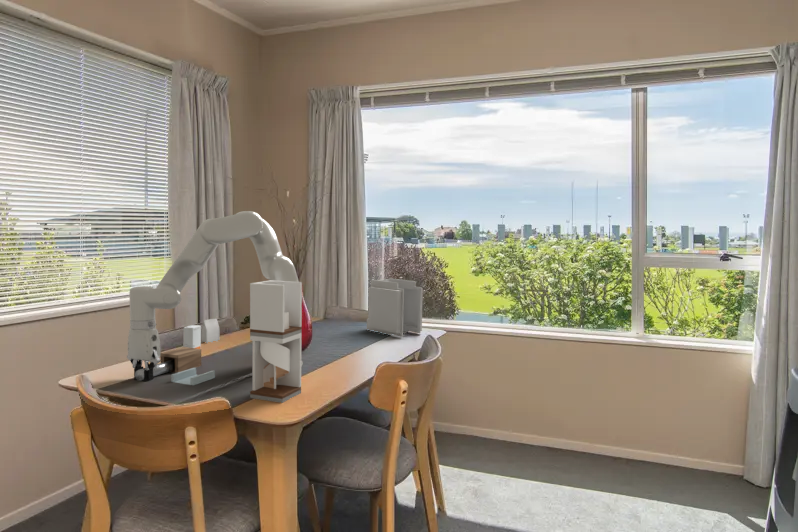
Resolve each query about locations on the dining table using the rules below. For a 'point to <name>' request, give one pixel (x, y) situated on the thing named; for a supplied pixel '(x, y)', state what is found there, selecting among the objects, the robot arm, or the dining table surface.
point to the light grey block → (210, 331)
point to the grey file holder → (395, 306)
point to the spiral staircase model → (276, 339)
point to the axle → (157, 369)
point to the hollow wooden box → (183, 358)
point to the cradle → (191, 377)
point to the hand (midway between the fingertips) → (143, 379)
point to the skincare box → (192, 336)
